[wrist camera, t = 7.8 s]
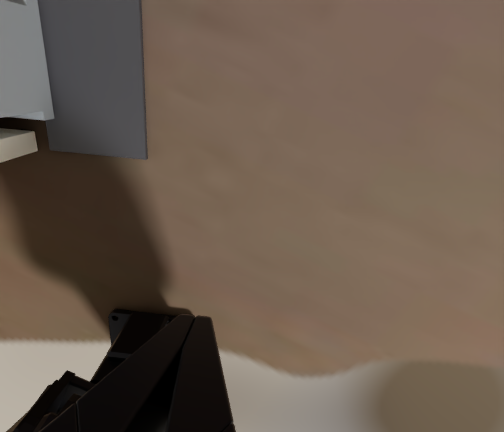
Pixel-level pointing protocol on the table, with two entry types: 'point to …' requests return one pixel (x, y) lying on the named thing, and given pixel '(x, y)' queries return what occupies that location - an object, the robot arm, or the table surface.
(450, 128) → the table surface
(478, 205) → the table surface
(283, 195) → the table surface
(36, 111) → the bracket
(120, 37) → the tunnel
